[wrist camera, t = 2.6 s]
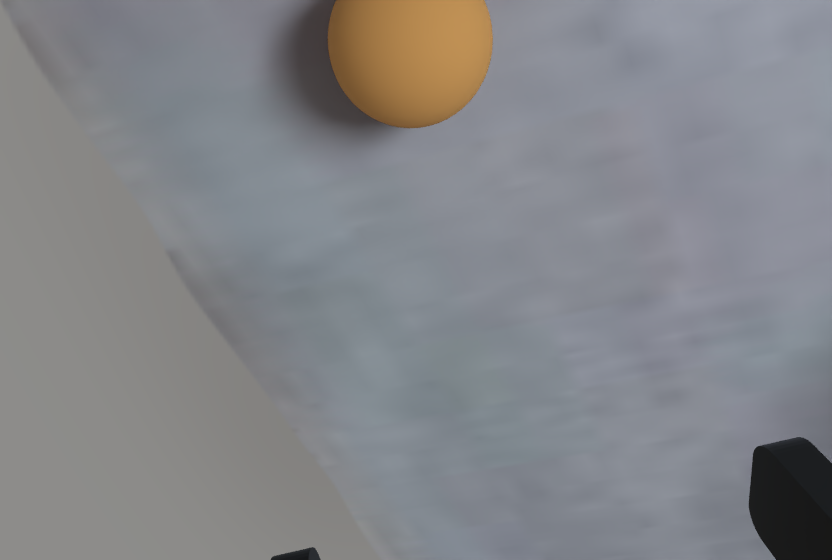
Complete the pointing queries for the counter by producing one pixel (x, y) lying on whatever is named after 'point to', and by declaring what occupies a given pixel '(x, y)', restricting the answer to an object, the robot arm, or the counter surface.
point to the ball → (410, 56)
